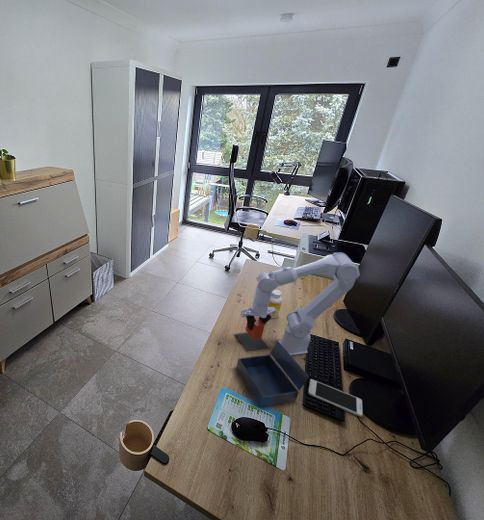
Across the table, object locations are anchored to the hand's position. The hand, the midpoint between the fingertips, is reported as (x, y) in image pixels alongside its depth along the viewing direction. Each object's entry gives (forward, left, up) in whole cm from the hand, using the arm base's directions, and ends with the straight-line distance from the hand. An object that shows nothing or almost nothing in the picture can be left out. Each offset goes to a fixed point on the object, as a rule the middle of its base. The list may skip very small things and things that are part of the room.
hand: (254, 328), depth 120 cm
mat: (0, 0, -7) cm, 7 cm away
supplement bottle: (-19, -16, -8) cm, 26 cm away
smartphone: (-14, +30, -7) cm, 34 cm away
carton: (+7, +21, -7) cm, 23 cm away
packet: (0, 0, -3) cm, 3 cm away
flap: (0, +21, +2) cm, 21 cm away
